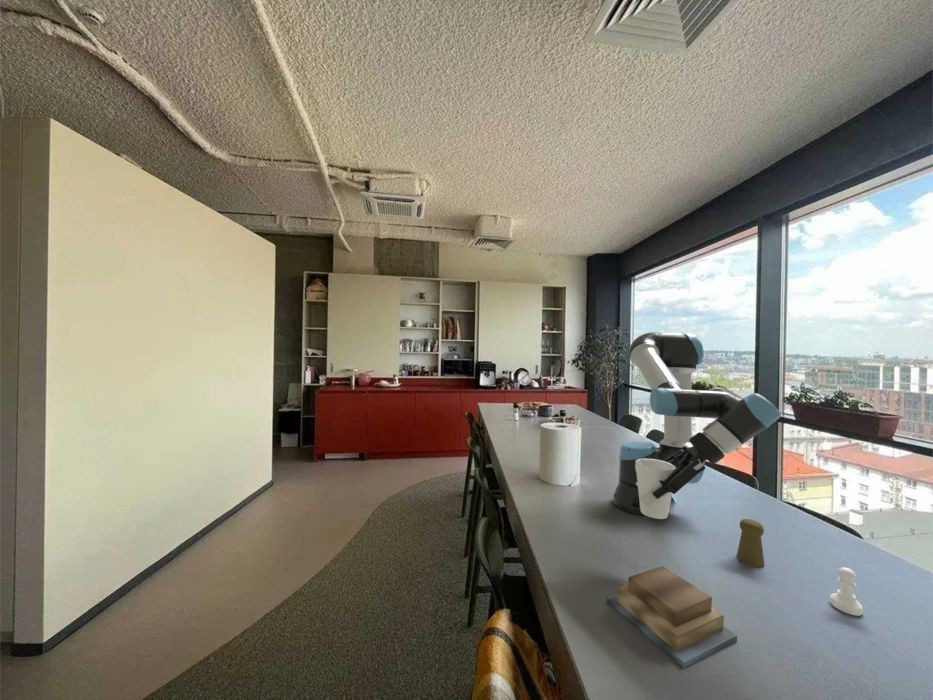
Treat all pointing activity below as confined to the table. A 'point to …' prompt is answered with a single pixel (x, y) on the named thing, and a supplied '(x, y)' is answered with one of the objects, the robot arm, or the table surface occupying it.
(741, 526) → the cork
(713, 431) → the robot arm
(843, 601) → the chess pawn
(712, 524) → the table surface
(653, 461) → the foam cup
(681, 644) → the stepped wooden pedestal
